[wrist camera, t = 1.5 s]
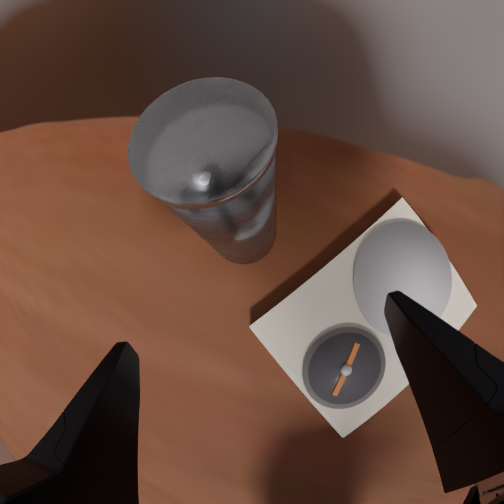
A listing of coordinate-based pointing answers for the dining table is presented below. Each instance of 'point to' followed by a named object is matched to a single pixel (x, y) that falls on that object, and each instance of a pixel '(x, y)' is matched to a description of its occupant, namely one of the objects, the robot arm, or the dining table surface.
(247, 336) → the dining table surface
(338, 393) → the dial scale
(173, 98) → the metal tumbler
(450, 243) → the dining table surface
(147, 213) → the dining table surface
